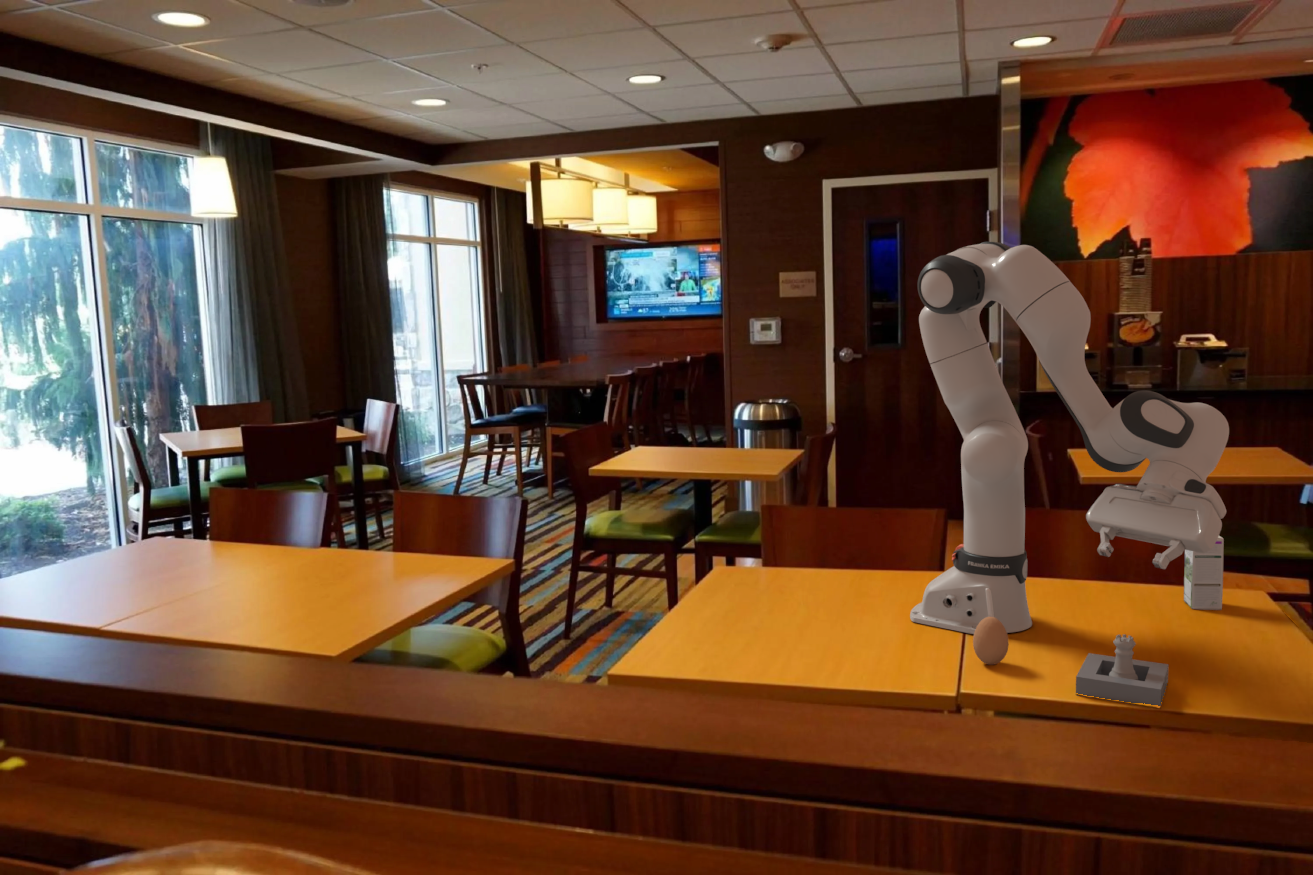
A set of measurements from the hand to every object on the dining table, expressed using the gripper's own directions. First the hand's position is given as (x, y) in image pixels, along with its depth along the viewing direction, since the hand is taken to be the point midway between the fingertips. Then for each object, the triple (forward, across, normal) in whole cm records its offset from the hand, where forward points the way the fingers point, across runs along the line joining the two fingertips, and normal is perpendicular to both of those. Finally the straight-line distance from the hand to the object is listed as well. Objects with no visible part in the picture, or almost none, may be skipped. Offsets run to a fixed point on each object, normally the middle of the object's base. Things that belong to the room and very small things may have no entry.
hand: (1129, 559), depth 164 cm
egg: (+21, -19, +8) cm, 30 cm away
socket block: (+16, +1, +13) cm, 21 cm away
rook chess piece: (+16, +1, +13) cm, 20 cm away
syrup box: (-20, -15, +50) cm, 56 cm away
